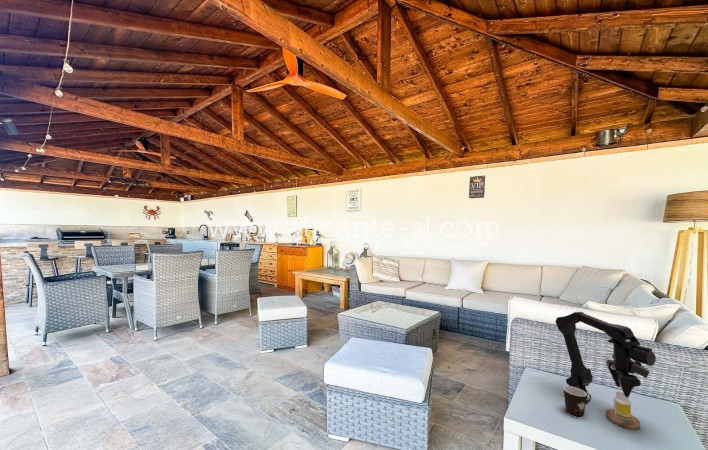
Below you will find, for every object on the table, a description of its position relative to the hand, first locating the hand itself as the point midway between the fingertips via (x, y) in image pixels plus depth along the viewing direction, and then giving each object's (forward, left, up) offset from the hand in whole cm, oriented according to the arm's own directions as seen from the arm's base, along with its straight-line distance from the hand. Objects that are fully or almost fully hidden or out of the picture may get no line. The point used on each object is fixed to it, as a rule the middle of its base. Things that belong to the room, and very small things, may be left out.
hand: (622, 391), depth 129 cm
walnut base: (0, 0, -13) cm, 13 cm away
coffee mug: (-16, -2, -13) cm, 21 cm away
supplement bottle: (0, 0, -11) cm, 11 cm away
